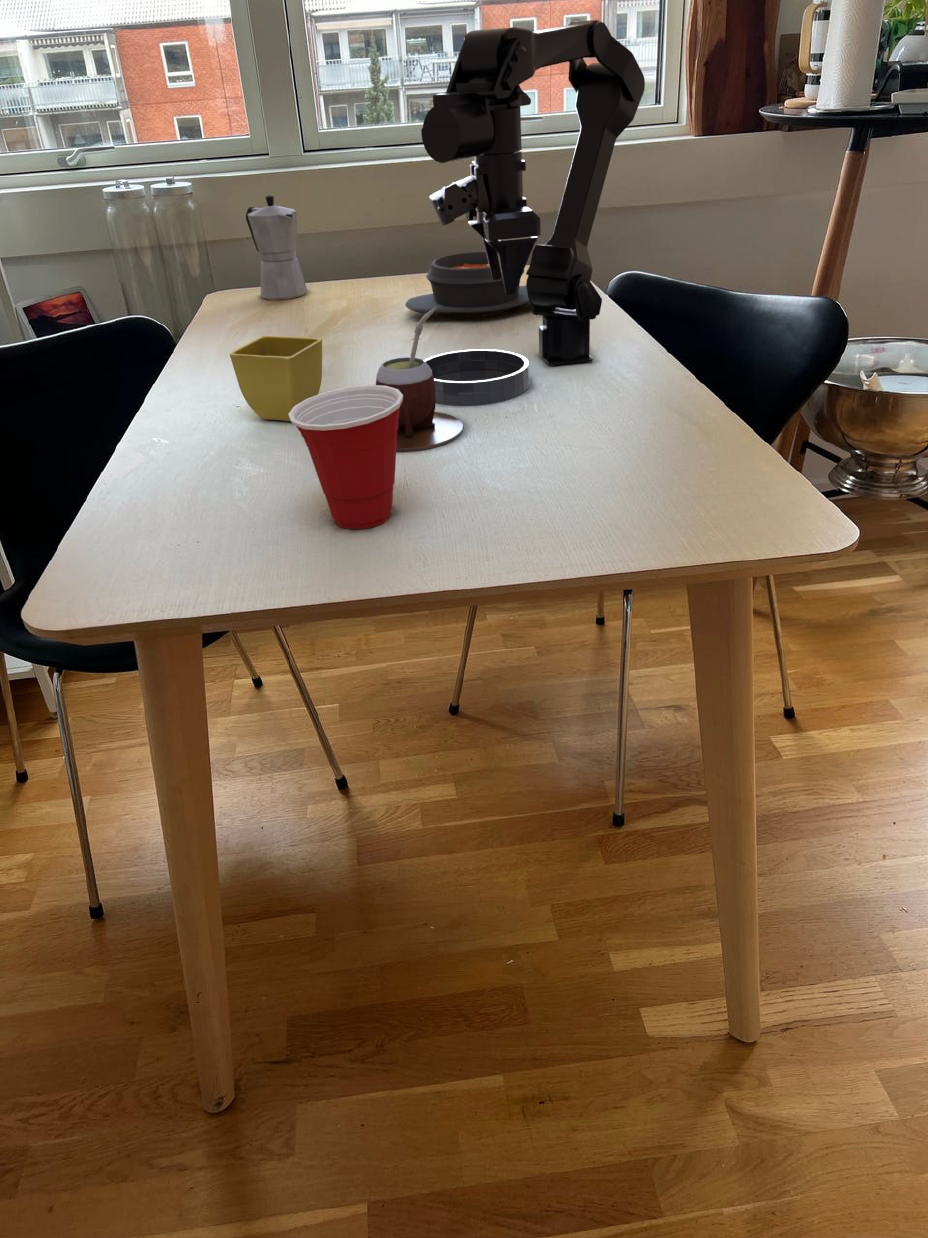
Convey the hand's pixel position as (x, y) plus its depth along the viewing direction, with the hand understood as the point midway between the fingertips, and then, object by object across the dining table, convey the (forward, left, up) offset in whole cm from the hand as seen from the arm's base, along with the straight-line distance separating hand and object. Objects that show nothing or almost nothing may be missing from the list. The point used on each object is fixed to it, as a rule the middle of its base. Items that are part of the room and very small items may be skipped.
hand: (503, 286), depth 120 cm
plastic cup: (+22, +38, -13) cm, 45 cm away
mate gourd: (+14, +15, -13) cm, 24 cm away
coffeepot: (+33, -71, -13) cm, 80 cm away
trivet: (+15, +15, -13) cm, 24 cm away
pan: (+5, 0, -13) cm, 14 cm away
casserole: (-2, -43, -13) cm, 45 cm away
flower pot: (+30, +4, -13) cm, 33 cm away
